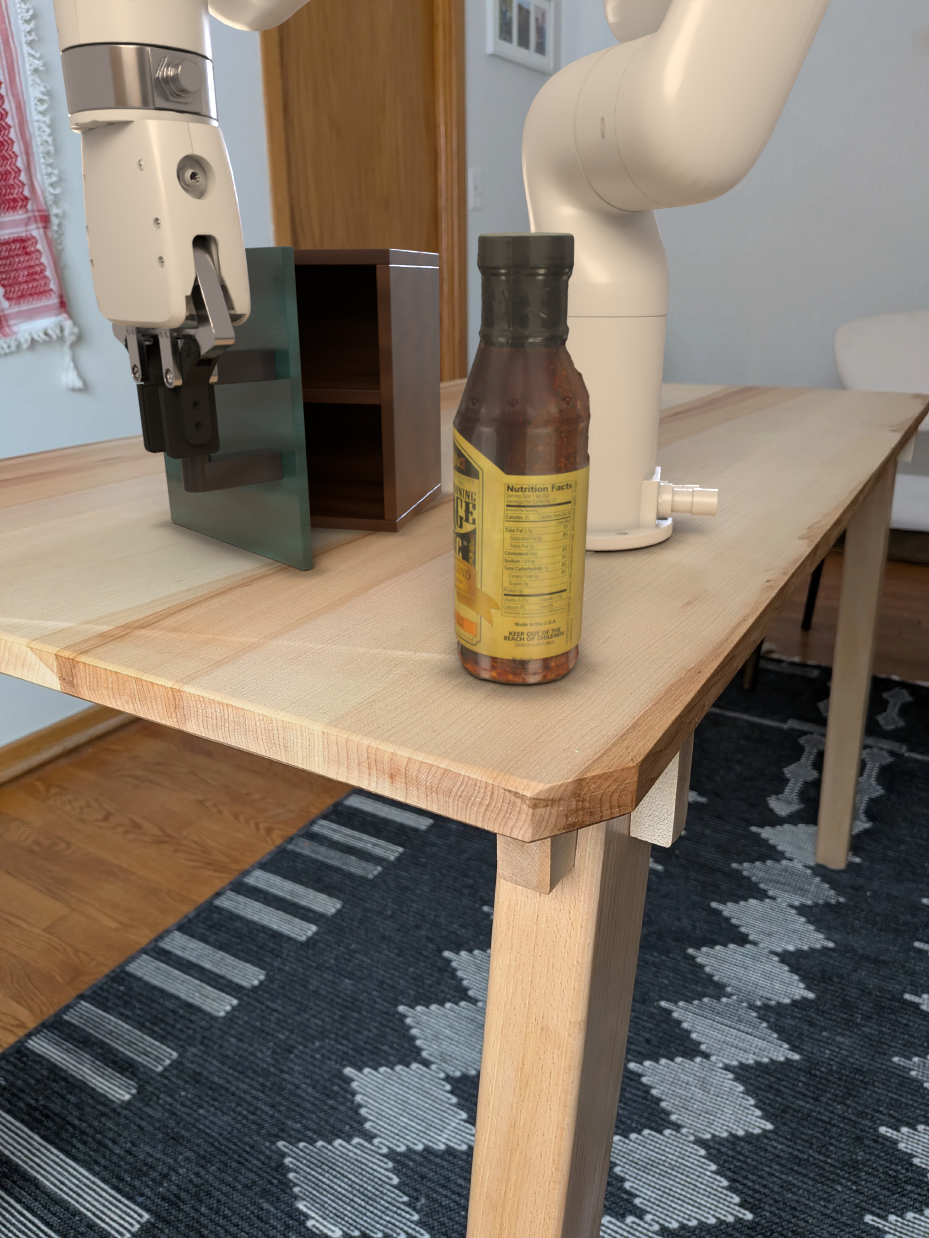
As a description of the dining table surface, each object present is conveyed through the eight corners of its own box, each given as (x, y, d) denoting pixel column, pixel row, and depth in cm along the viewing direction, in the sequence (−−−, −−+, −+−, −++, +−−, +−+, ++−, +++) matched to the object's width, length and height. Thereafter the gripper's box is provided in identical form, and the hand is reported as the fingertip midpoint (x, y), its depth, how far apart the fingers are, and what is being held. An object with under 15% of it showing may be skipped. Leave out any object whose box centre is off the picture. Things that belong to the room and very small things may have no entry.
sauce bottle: (465, 638, 49) (464, 236, 42) (583, 645, 48) (602, 235, 41) (443, 690, 43) (437, 229, 36) (577, 699, 42) (598, 227, 35)
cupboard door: (216, 593, 55) (180, 243, 49) (91, 537, 67) (48, 251, 61) (313, 568, 60) (293, 246, 53) (180, 520, 72) (150, 253, 65)
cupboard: (397, 533, 69) (389, 248, 62) (180, 521, 73) (149, 250, 66) (441, 493, 82) (439, 253, 75) (255, 485, 85) (236, 255, 78)
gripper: (289, 90, 45) (312, 462, 51) (141, 126, 56) (176, 431, 62) (146, 67, 40) (191, 481, 47) (13, 112, 51) (65, 444, 57)
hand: (182, 450), depth 54 cm, fingers closed on cupboard door, 2 cm apart
